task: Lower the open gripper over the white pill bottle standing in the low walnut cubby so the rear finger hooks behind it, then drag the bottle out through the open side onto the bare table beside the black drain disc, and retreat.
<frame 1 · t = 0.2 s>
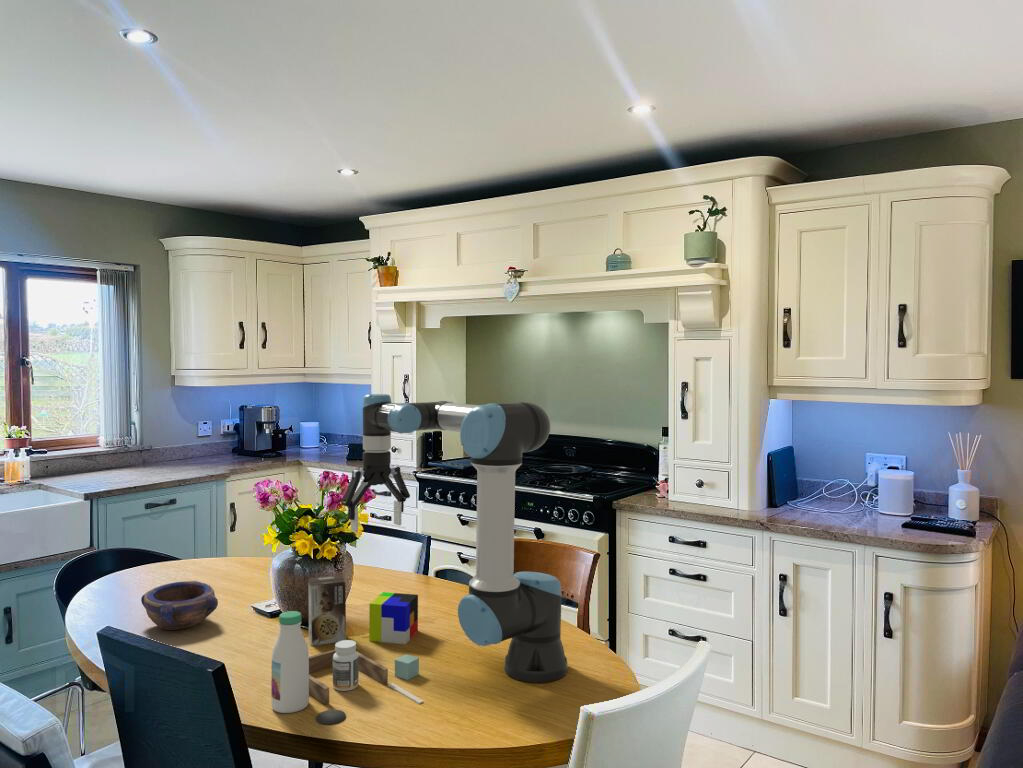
hand: (376, 528, 210), 28 cm above the table, fingers open, 13 cm apart
milk bottle: (290, 706, 164), on the table
puzzle toy: (394, 636, 206), on the table
pill bottle: (345, 687, 174), on the table
cubby: (336, 680, 177), on the table
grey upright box: (327, 640, 202), on the table
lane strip: (405, 693, 171), on the table
bowl: (180, 626, 211), on the table
teal block: (406, 675, 181), on the table
drain disc: (330, 717, 159), on the table
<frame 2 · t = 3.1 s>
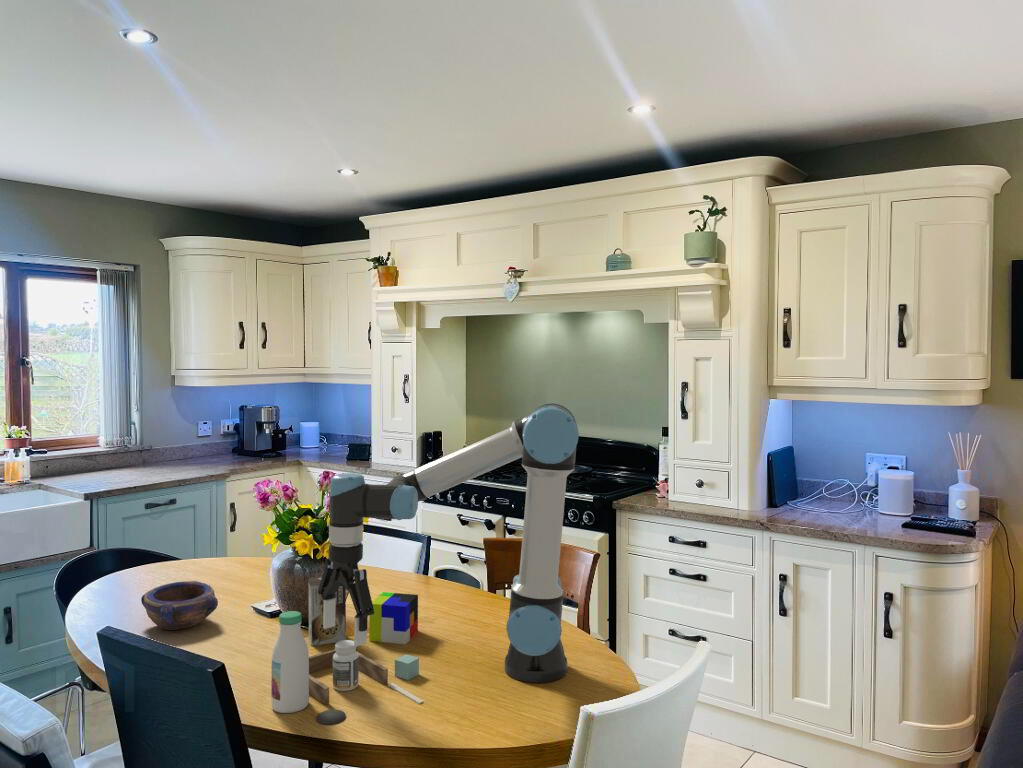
hand: (344, 635, 174), 12 cm above the table, fingers open, 13 cm apart
nothing on the table moved.
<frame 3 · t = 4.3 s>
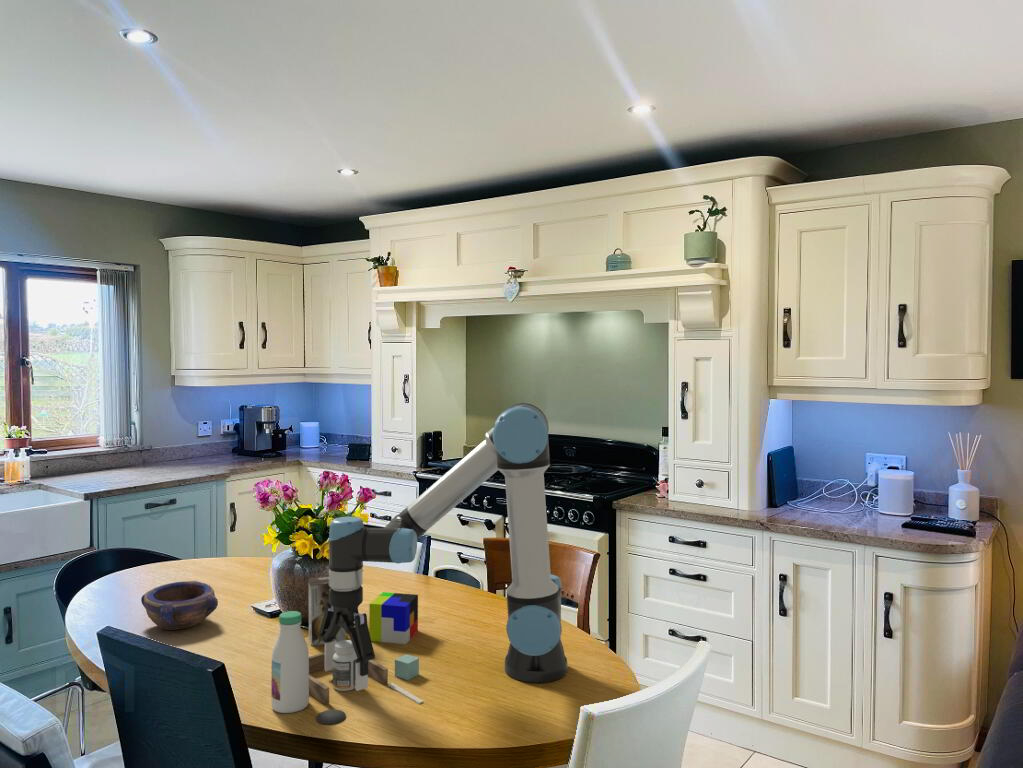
hand: (345, 679, 174), 2 cm above the table, fingers open, 13 cm apart
nothing on the table moved.
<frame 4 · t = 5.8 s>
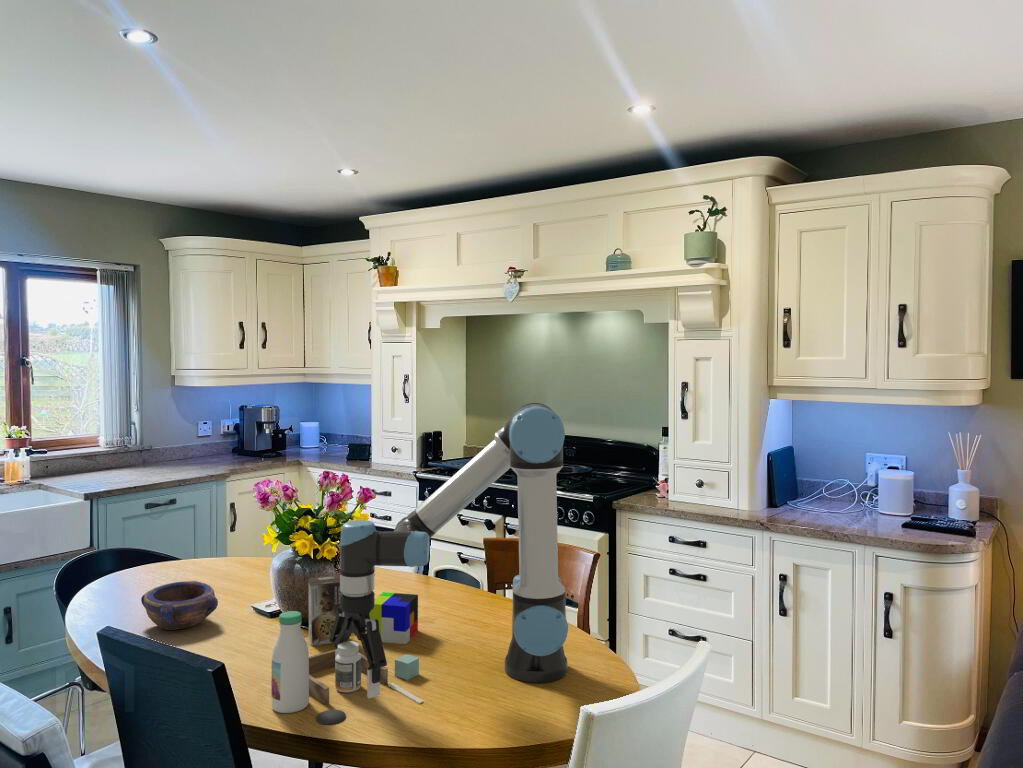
hand: (356, 685, 171), 2 cm above the table, fingers open, 13 cm apart
pill bottle: (348, 689, 173), on the table, touching gripper
everything else where it was.
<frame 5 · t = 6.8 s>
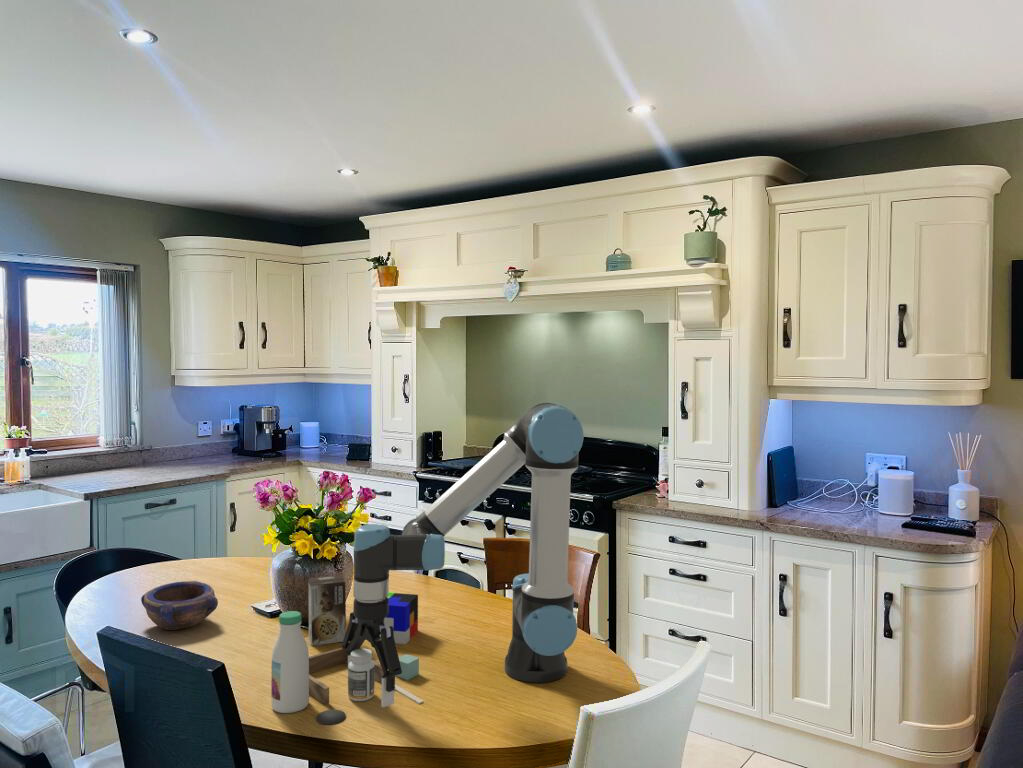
hand: (370, 694, 166), 2 cm above the table, fingers open, 13 cm apart
pill bottle: (361, 697, 169), on the table, touching gripper
everything else where it was.
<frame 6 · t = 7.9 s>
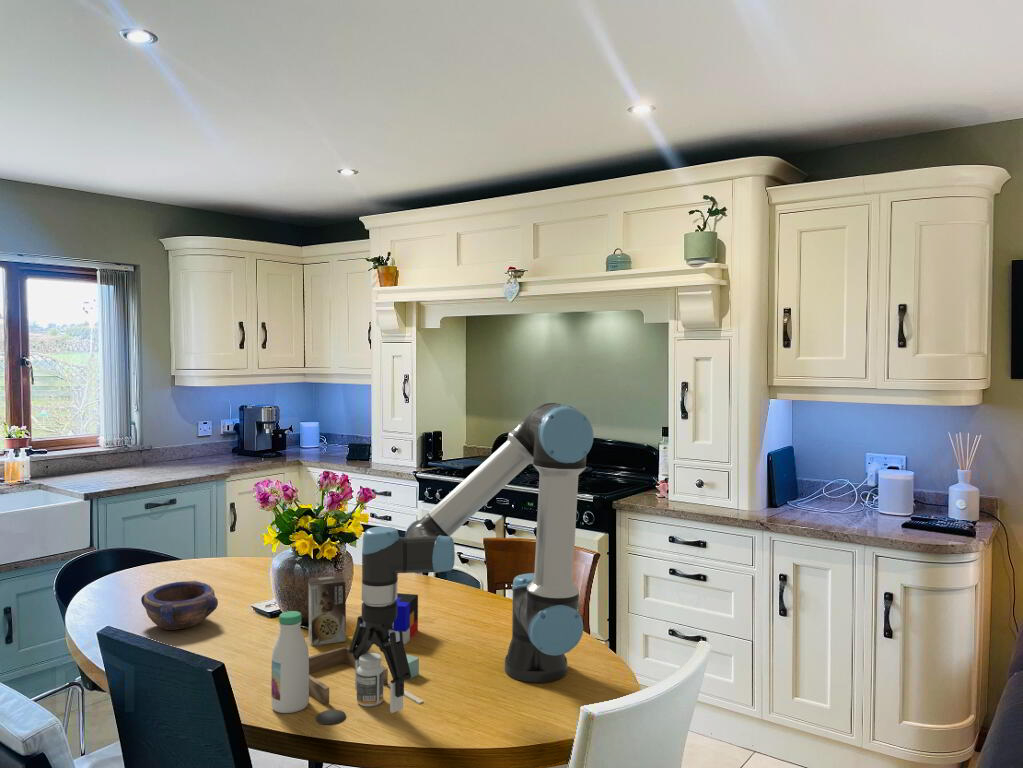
hand: (378, 699, 164), 2 cm above the table, fingers open, 13 cm apart
pill bottle: (369, 702, 167), on the table, touching gripper
everything else where it was.
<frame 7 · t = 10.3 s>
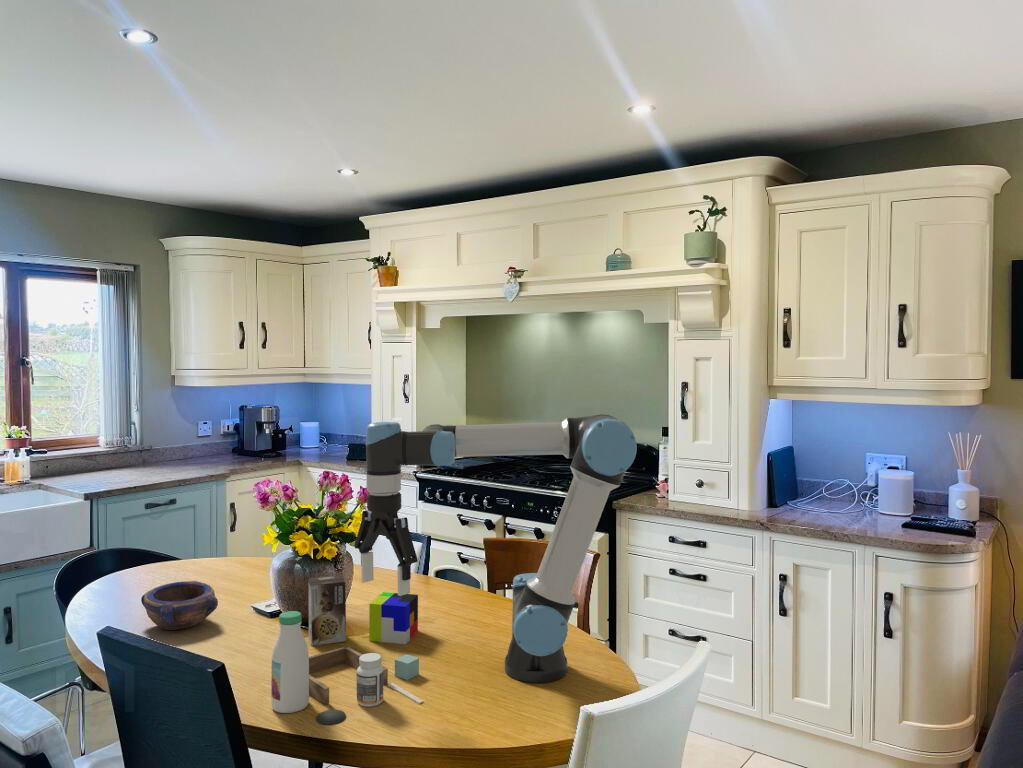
hand: (385, 587, 170), 24 cm above the table, fingers open, 13 cm apart
pill bottle: (370, 702, 167), on the table
everything else where it was.
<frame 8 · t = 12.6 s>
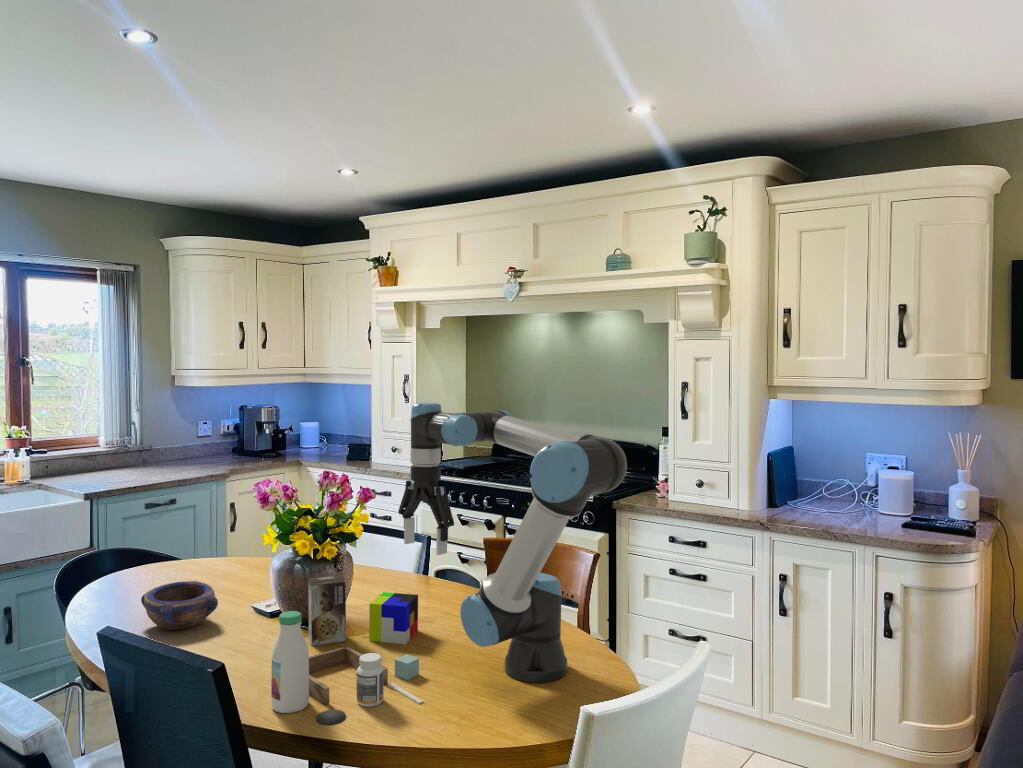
hand: (425, 548, 193), 27 cm above the table, fingers open, 13 cm apart
nothing on the table moved.
at the end: pill bottle inside the target area (1.2 cm from its centre), on the table; pill bottle tilted 0°; pill bottle moved 10.1 cm from its start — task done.
